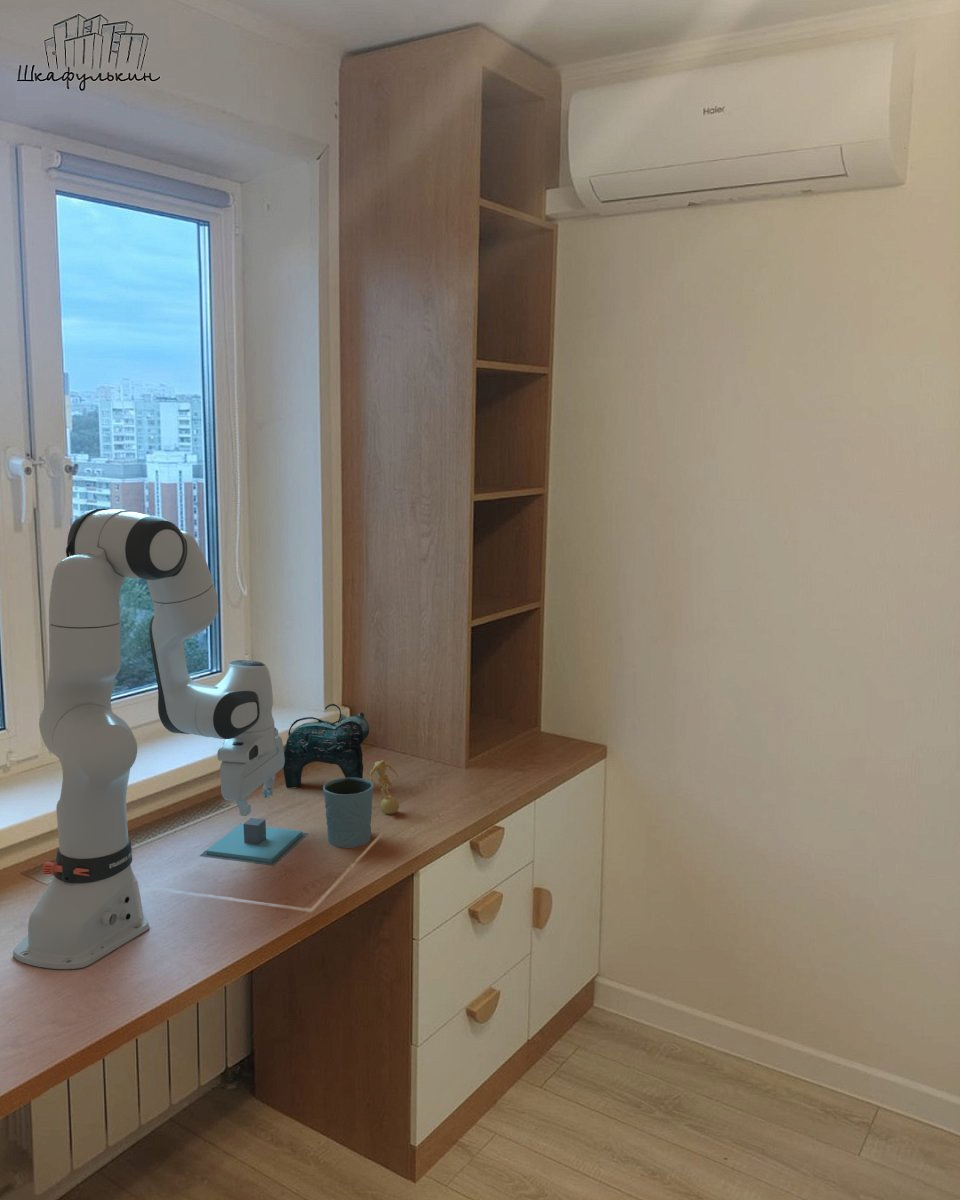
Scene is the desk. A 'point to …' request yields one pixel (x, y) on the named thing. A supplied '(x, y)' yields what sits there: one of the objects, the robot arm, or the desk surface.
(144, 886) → the desk surface
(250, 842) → the lid
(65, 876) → the robot arm
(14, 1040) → the desk surface
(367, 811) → the blue grey bin
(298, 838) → the mat
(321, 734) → the ceramic cat
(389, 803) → the figurine
